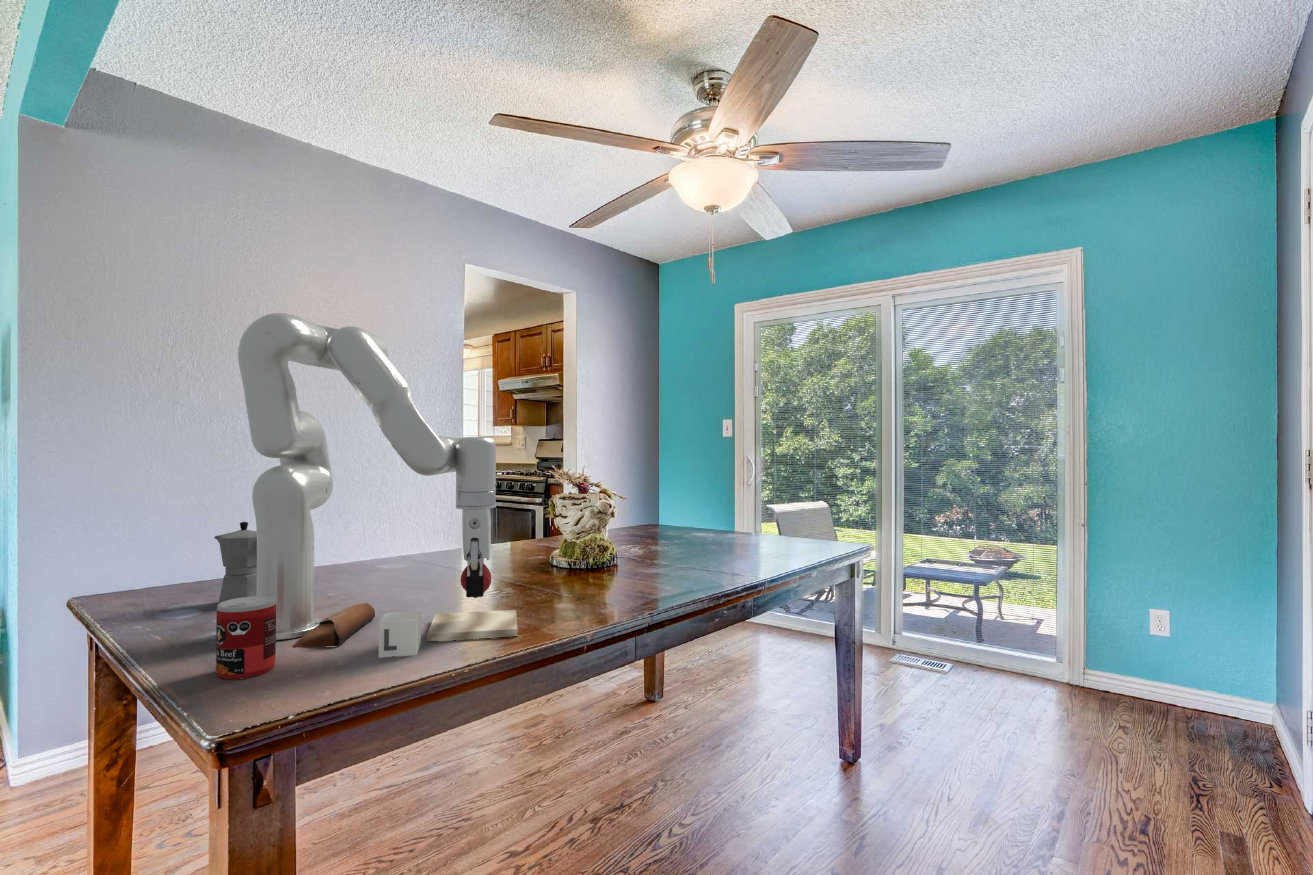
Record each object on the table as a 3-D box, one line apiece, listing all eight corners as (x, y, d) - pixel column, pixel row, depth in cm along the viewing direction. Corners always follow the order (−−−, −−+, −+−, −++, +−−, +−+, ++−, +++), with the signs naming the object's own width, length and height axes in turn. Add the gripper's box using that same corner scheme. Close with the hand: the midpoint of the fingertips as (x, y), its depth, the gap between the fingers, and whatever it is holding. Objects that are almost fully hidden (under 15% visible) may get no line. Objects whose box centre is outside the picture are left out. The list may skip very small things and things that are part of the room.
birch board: (427, 642, 119) (427, 633, 119) (435, 621, 132) (435, 613, 132) (517, 637, 122) (517, 629, 122) (516, 617, 136) (516, 609, 136)
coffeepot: (198, 607, 141) (199, 524, 141) (229, 597, 150) (230, 518, 150) (267, 609, 140) (268, 525, 140) (294, 598, 150) (295, 519, 150)
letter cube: (378, 658, 110) (379, 622, 110) (384, 646, 116) (385, 613, 116) (416, 656, 112) (416, 620, 112) (420, 644, 118) (421, 611, 118)
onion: (496, 595, 130) (496, 554, 130) (483, 602, 124) (483, 560, 124) (469, 593, 131) (469, 553, 131) (455, 600, 125) (455, 558, 125)
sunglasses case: (332, 619, 133) (350, 590, 133) (362, 636, 133) (380, 608, 133) (290, 647, 115) (310, 615, 115) (325, 667, 115) (346, 635, 115)
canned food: (206, 673, 102) (207, 603, 102) (261, 659, 109) (261, 593, 109) (229, 684, 98) (230, 610, 98) (284, 669, 104) (285, 600, 104)
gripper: (495, 504, 120) (494, 602, 120) (496, 496, 137) (496, 582, 137) (452, 505, 118) (452, 604, 118) (459, 496, 135) (458, 584, 135)
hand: (475, 591), depth 127 cm, fingers closed on onion, 5 cm apart
